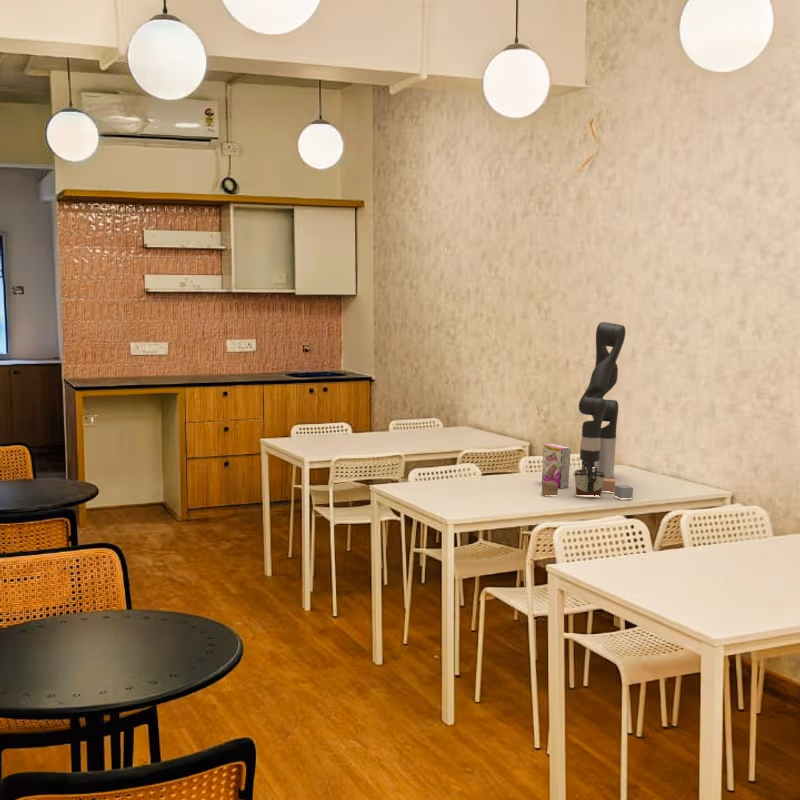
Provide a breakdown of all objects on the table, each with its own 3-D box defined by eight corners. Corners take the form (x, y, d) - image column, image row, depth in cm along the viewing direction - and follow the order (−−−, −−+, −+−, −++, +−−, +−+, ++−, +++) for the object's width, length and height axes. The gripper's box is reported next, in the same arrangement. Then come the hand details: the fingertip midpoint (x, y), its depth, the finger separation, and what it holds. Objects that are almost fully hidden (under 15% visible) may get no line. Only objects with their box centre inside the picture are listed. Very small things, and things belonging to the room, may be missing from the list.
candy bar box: (540, 483, 413) (543, 444, 411) (550, 482, 416) (552, 443, 414) (559, 488, 404) (562, 448, 402) (569, 487, 407) (571, 447, 405)
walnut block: (541, 493, 394) (542, 481, 394) (554, 494, 395) (555, 481, 394) (544, 496, 389) (545, 483, 389) (557, 496, 390) (557, 484, 389)
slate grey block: (614, 497, 391) (614, 485, 391) (625, 497, 393) (626, 484, 392) (620, 500, 387) (621, 487, 386) (632, 500, 388) (633, 487, 388)
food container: (602, 495, 395) (604, 470, 394) (604, 498, 389) (605, 473, 388) (571, 493, 396) (572, 468, 395) (572, 496, 390) (573, 471, 389)
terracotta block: (600, 490, 404) (601, 478, 404) (613, 491, 404) (613, 478, 403) (601, 493, 399) (602, 480, 399) (614, 493, 399) (615, 481, 398)
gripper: (576, 444, 397) (574, 485, 399) (585, 451, 383) (582, 493, 385) (595, 445, 398) (592, 486, 400) (604, 451, 384) (602, 494, 386)
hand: (587, 489), depth 393 cm, fingers open, 7 cm apart
